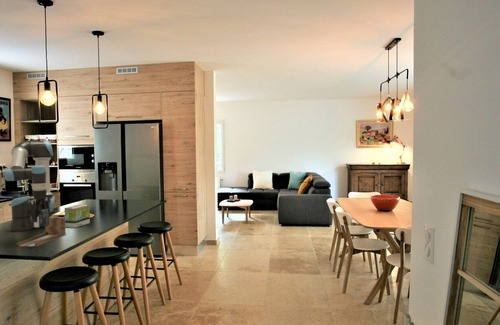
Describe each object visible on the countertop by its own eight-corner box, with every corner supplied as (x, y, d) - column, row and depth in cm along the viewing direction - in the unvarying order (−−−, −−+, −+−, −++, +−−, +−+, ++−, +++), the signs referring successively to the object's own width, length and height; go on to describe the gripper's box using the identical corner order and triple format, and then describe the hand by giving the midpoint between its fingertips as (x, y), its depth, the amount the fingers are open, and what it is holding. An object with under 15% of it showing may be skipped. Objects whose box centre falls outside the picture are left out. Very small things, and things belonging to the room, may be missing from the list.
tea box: (76, 228, 235) (75, 208, 234) (64, 227, 237) (63, 207, 236) (90, 223, 250) (89, 204, 249) (79, 222, 252) (78, 204, 251)
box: (32, 227, 200) (31, 210, 200) (36, 225, 206) (35, 209, 206) (45, 226, 202) (45, 210, 202) (49, 224, 208) (48, 208, 207)
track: (17, 246, 193) (16, 226, 193) (47, 234, 219) (46, 216, 218) (37, 246, 192) (36, 226, 192) (65, 234, 218) (64, 217, 217)
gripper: (33, 192, 193) (35, 229, 194) (55, 187, 212) (57, 222, 214) (21, 192, 193) (23, 229, 195) (45, 187, 213) (46, 221, 214)
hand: (41, 225), depth 204 cm, fingers closed on box, 7 cm apart
